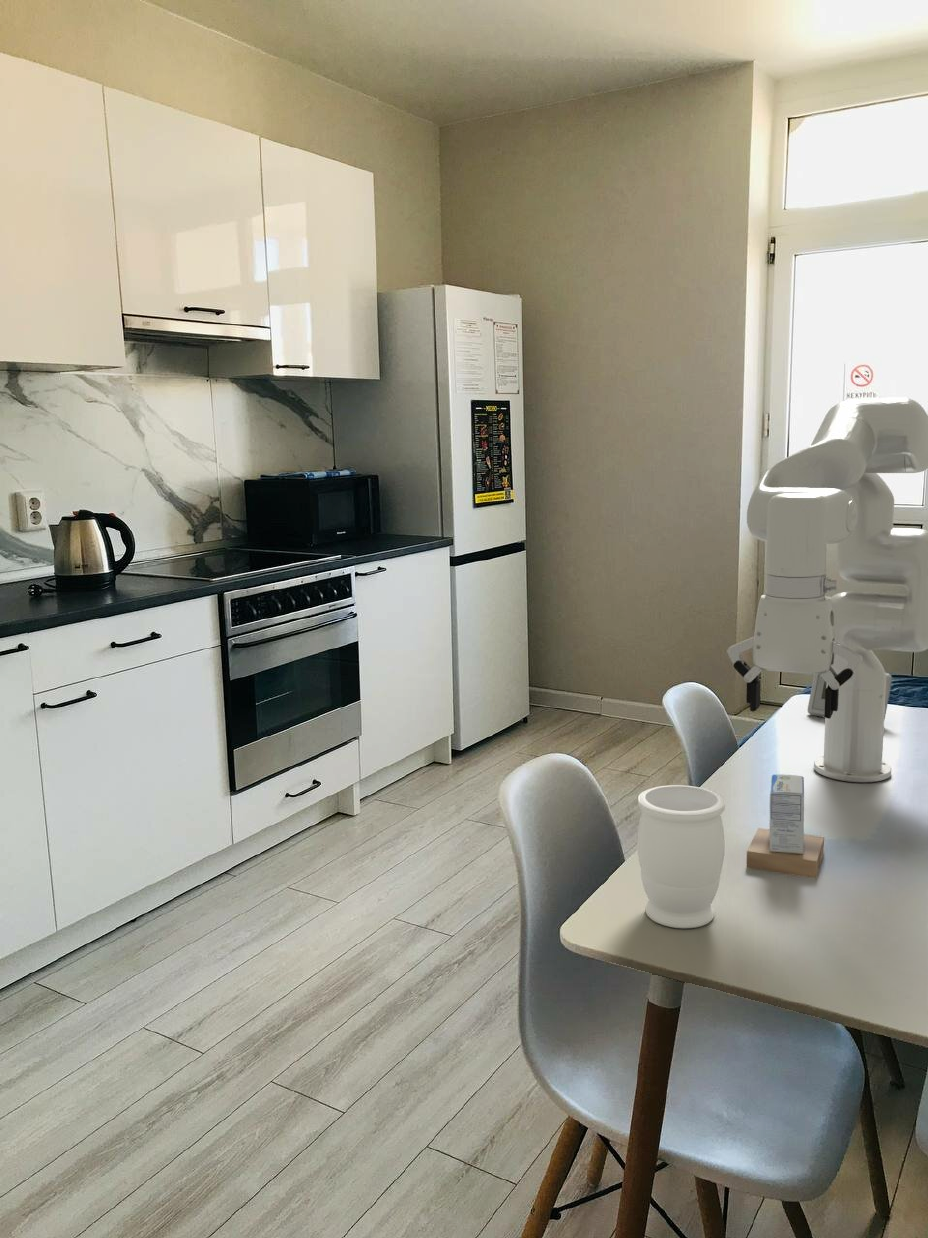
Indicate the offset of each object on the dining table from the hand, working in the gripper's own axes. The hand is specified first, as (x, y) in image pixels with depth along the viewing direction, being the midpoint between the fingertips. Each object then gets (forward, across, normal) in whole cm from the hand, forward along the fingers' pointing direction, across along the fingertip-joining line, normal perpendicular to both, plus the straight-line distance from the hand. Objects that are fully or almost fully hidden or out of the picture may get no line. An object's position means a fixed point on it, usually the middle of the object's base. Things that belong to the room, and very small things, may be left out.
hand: (791, 712), depth 136 cm
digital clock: (+23, +1, -77) cm, 80 cm away
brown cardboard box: (+22, 0, +1) cm, 22 cm away
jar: (+21, +9, +23) cm, 32 cm away
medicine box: (+19, 0, 0) cm, 19 cm away
